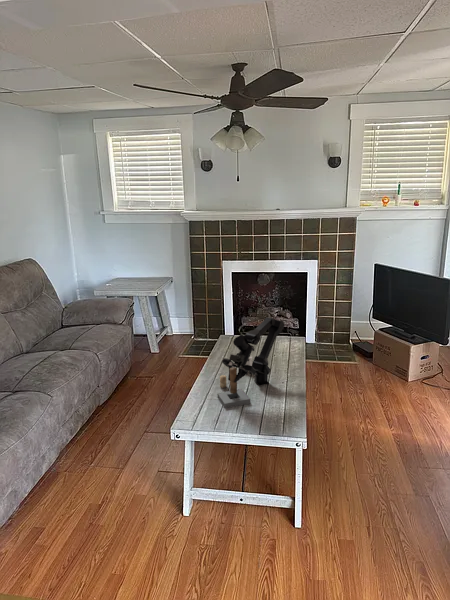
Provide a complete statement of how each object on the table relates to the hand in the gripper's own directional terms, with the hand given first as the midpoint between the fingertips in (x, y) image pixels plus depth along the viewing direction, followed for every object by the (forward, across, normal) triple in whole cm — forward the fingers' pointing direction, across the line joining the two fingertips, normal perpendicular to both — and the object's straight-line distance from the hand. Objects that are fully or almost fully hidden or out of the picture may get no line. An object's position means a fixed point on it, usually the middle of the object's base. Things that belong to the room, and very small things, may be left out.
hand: (231, 381), depth 218 cm
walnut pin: (+4, 0, +6) cm, 7 cm away
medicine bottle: (-17, -18, +34) cm, 42 cm away
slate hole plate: (+7, 0, +9) cm, 12 cm away
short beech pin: (+1, -14, +15) cm, 21 cm away
